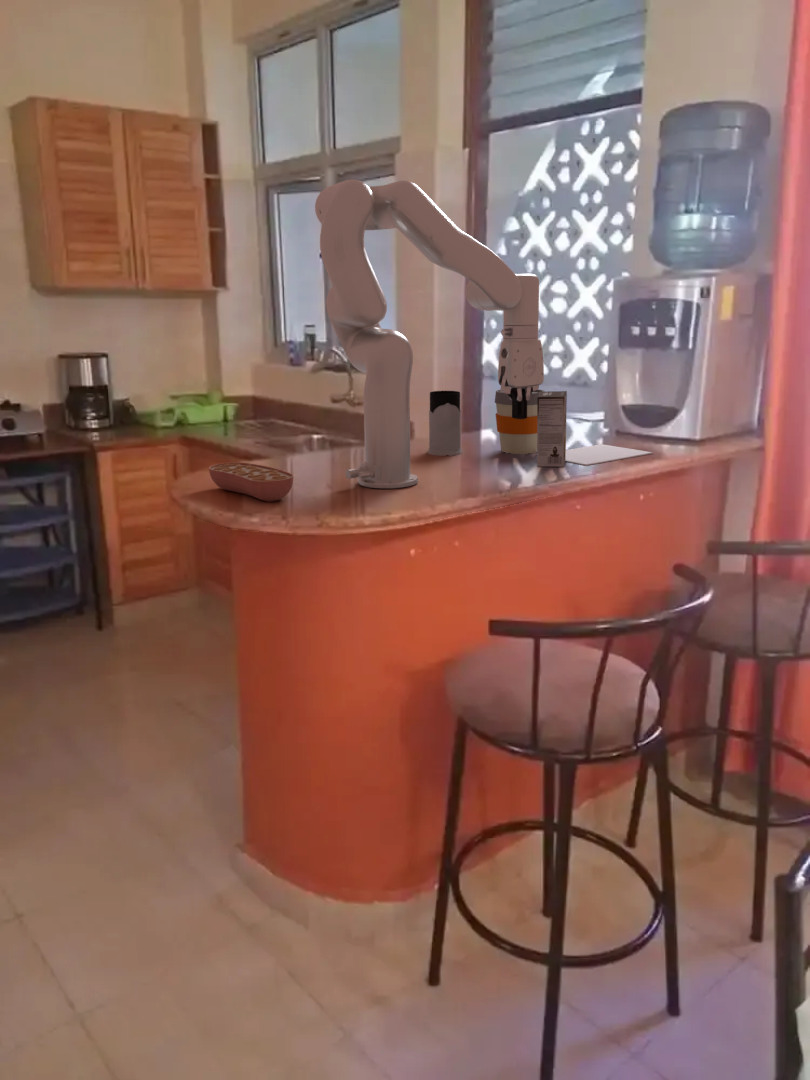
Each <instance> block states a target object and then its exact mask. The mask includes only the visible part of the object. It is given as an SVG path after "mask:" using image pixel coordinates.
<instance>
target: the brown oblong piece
mask: <svg viewBox="0 0 810 1080" xmlns="http://www.w3.org/2000/svg"><path fill="white" fill-rule="evenodd" d="M208 471H209V475H210V478H211V480H212V481H213V483H214V484H215V485H216V486H217V487H219V488H220V489H222V490H225V491H228V492H233V493H234V492H235V493H237V494H238V493H239V494H243V495H248V496H251V497H253V498H256V499H258V500H262V501H264V502H268V503H269V502H271V503H272V502H277V501H279V500H282V499H284V498H285V497H286V496H287V495H288V494H289V493H290V492H291V489H292V487H293V483H294V474H293V473H291V472H288V471H285V470H282V469H279V468H275V467H271V466H267V465H263V464H262V465H261V464H254V463H249V462H224V463H217V464H213V465H210V466H209V467H208Z"/></svg>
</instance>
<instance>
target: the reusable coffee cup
mask: <svg viewBox="0 0 810 1080" xmlns="http://www.w3.org/2000/svg"><path fill="white" fill-rule="evenodd" d="M515 391H516V390H515ZM540 392H546V391H545V390H543V389H537V390H535V391H533V392H532V393H531V395H530V399H529V400H527V418H526V419H515V418H512V400H510V397H509V395H508V394H505V393H501V392H500V389H497V390H495V394H494V395H495V397H494V403H495V405H496V406H495V407H496V408H495V409H496V413H495V421H496V431H497V432H498V435H499V444H500V452H501V451H503V452H506V453H505V454H508V453H511V455H529V454H528V453H531V454H535V453H537V397H538V395H539V393H540ZM503 452H502V453H503Z"/></svg>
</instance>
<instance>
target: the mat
mask: <svg viewBox="0 0 810 1080" xmlns="http://www.w3.org/2000/svg"><path fill="white" fill-rule="evenodd" d="M652 454H653V452H652V451H645V450H642V449H641V450H640V449H633V448H627V447H622V446H614V445H610V444H603V443H602V444H595V445H589V446H582V447H576V448H571V449H566V459H565V463H570V464H575V465H581V466H591V465H598V464H603V463H608V462H614V461H619V460H625V459H630V458H636V457H642V456H648V455H652ZM535 457H537V454H536V455H535Z"/></svg>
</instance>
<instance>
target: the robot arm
mask: <svg viewBox="0 0 810 1080" xmlns="http://www.w3.org/2000/svg"><path fill="white" fill-rule="evenodd" d="M314 210H315V216H316V218H317V219H318V221H319V223H320V224H321V228H320V234H319V249H320V254H321V255H320V256H321V258H322V262H323V265H324V267H325V270H326V272H327V275H328V278H329V281H330V284H331V287H330V289H329V291H328V293H327V295H326V311H327V315H328V318H329V321H330V323H331V325H332V328H333V329H334V331H335V333H336V336H337V339H338V340H339V343H340V345H341V347H342V349H343V351H344V353H345V355H346V357H347V359H348V361H349V362H350V364H351V365H352V366H353V368H355V370H357V371H359V372H361V373H364V374H366V375H365V381H364V386H363V401H362V402H363V429H364V461H362V462H360V466H358V467H357V468H351V469H346V470H345V472H344V473H345V474H344V475H345V477H346V479H348V480H350V479H356V478H357V479H358V480H357V482H358V485H360V486H363V487H365V488H371V489H384V490H385V489H387V490H389V489H400V488H401V489H402V488H407V487H408V488H409V487H411V486H414V485H416V484H418V482H419V477H418V476H417V475H416V474H414V473H411V415H410V414H411V409H410V406H411V405H410V399H411V398H410V392H411V378H412V371H413V364H414V352H413V348H412V345H411V342H410V341H409V339H408V338H407V337H406V336H405V335H404V334H403V333H400V332H399V331H398V330H395V329H392V328H391V329H389V328H382V327H381V325H380V323H381V322H382V321H383V320H384V318H385V317H386V315H387V309H388V304H387V300H386V296H385V293H384V291H383V289H382V287H381V284H380V283H379V280H378V278H377V275H376V273H375V271H374V268H373V266H372V264H371V262H370V259H369V255H368V253H367V250H366V246H365V245H366V244H365V233H366V232H365V231H376V230H377V231H381V230H391V229H392V230H393V229H397V230H399V232H400V233H402V234H403V236H404V237H405V238H406V239H407V240H408V241H409V242H410V243H412V244H413V245H414V246H415V248H417V250H418V251H419V252H420V253H422V255H423V256H424V257H425V258H426V259H427V260H428V261H430V262H431V263H433V265H434V264H435V265H437V266H438V267H440V268H442V269H446V270H449V271H452V272H454V273H457V274H458V275H461V276H462V277H464V278H465V279H467V280H469V281H468V282H467V284H466V286H465V292H464V293H465V294H464V296H465V299H466V301H467V302H468V304H469V305H470V306H471V307H472V308H474V309H477V310H479V311H498V312H499V311H501V312H502V311H503V314H502V315H503V317H502V318H503V319H502V320H503V322H502V324H503V326H502V327H503V329H501V330H500V331H501V332H500V333H501V335H502V337H503V339H502V341H501V343H500V349H499V355H498V365H497V377H498V378H497V379H498V380H497V381H498V385H500V388H499V390H500V392H501V393H505V394H508V395H509V397H510V400H512V418H515V419H526V418H527V400H529V399H530V395H531V393H532V392H533V391H535V390H537V389H539V388H540V385H542V384H543V383H544V379H545V378H544V377H545V373H544V372H545V369H544V368H545V367H544V353H543V345H542V340H541V339H539V317H540V316H539V312H540V311H539V308H540V307H539V306H540V299H539V298H540V280H539V277H538V276H537V275H536V274H533V273H515V272H514V271H513V270H512V269H511V268H510V267H509V266H508V265H507V264H506V262H505V261H504V260H503V259H502V258H501V257H500V256H499V255H497V254H496V253H495V252H494V251H493V250H492V249H490V248H489V247H487V246H486V245H484V244H482V243H481V242H479V241H478V240H477V239H475V238H474V237H473V236H471V235H469V234H468V233H466V232H464V231H463V230H461V229H460V228H459V227H458V226H457V225H456V224H455V223H454V222H453V221H452V220H451V219H450V218H449V217H448V216H447V215H446V214H445V213H444V212H443V210H442V209H441V208H440V207H439V206H438V205H437V204H436V203H435V202H434V201H433V200H432V199H431V198H430V197H429V196H428V195H427V193H425V191H424V190H422V189H421V188H420V187H419V186H418V185H417V184H416V183H414V182H413V181H409V180H399V181H398V180H397V181H394V182H391V183H388V184H383V185H373V186H371V185H370V186H369V185H368V184H367V183H365V182H364V181H362V180H360V179H359V180H358V179H346V180H342V181H340V182H338V183H335V184H332V185H329V186H327V187H325V188H324V189H323V190H321V192H319V194H318V195H317V197H316V200H315V204H314ZM515 390H516V391H515ZM539 390H540V389H539Z"/></svg>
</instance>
